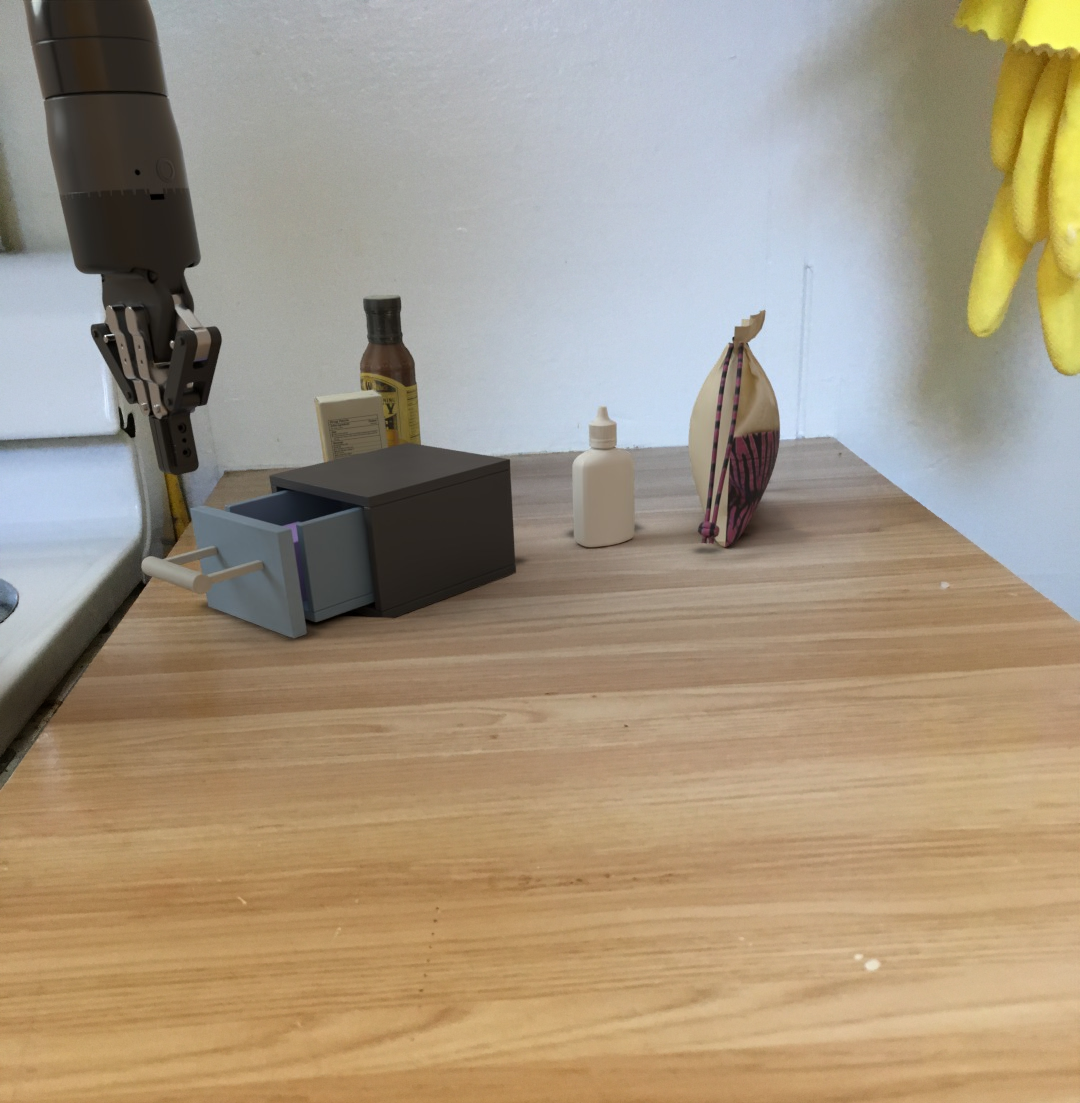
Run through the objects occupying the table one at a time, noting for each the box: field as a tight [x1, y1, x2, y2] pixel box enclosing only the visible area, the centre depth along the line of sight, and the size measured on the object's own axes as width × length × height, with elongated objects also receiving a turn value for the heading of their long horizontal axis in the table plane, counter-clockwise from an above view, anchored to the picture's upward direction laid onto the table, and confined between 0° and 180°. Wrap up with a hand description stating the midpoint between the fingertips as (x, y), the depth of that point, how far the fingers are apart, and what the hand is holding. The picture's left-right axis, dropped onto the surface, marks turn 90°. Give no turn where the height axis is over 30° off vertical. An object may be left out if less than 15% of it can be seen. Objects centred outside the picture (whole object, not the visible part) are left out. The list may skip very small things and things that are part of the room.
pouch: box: [688, 309, 781, 548], centre depth 97 cm, size 25×8×19 cm, turn 168°
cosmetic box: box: [313, 390, 388, 463], centre depth 106 cm, size 6×4×12 cm
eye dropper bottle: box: [571, 405, 636, 548], centre depth 95 cm, size 4×6×12 cm
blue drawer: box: [140, 489, 375, 640], centre depth 80 cm, size 19×11×8 cm, turn 137°
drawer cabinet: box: [268, 443, 517, 619], centre depth 87 cm, size 15×13×10 cm
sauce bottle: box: [359, 294, 422, 447], centre depth 118 cm, size 6×6×20 cm
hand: (180, 471), depth 72 cm, fingers closed
